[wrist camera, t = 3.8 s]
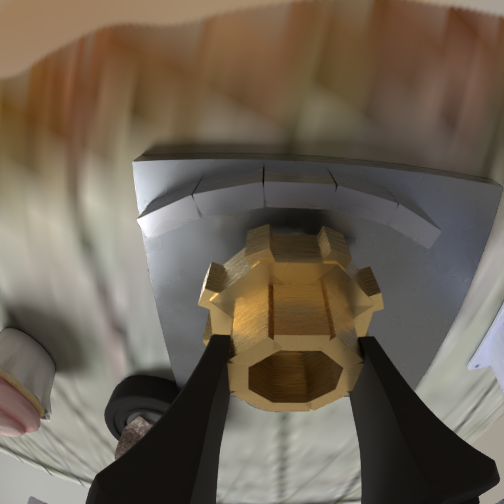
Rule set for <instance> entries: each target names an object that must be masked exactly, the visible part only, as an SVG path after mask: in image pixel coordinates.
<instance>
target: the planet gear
mask: <svg viewBox="0 0 504 504" xmlns="http://www.w3.org/2000/svg"><path fill="white" fill-rule="evenodd" d="M352 260H353V259H352V257H351V254H350V251H349V249H348V246H347V244H346V241H345V239H344V236H343V234H341V233H339V232H336V231H334V230H332V229H330V228H327V227H325V226H323V227H322V229H321V230H320V232H319V234H318V235H299V234H274V233H273V231H272V229H271V226H270V224H267V225H264V226H261V227H258V228H255V229H252V230H249V231H247V239H246V247H244V248H243V249H242V250H241V251H240V252H238V253H237V254H236V255H235V256H233V257H232V258H231V259H230V260H229V261H227V262H226V263H225V264H224V265H220V264H217V263H215V262H211V264H210V267H209V269H208V271H207V274H206V276H205V279H204V283H203V287H202V291H201V294H200V298H199V302H198V305H199V306H202V307H205V308H207V309H210V313H208V317H207V322H206V327H205V332H204V337H203V342H204V344H205V345H206V347H207V344H208V342H209V340H210V337H211V336H212V335H213V334H221V335H231V340H230V348H229V356H228V362H227V366H228V379H229V391H231V394H233V395H235V396H237V397H239V398H240V399H242V400H244V401H246V402H248V403H250V404H252V405H254V406H255V407H257V408H259V409H261V410H265V409H267V411H281V412H295V411H310V408H311V409H312V410H316V409H318V408H320V407H322V406H325V405H327V404H329V403H331V402H333V401H335V400H338V399H340V398H342V397H344V396H346V395H348V394H350V393H349V391H352V390H353V388H354V386H355V384H356V381H357V379H358V377H359V374H360V372H361V369H362V367H363V365H364V363H363V361H364V360H363V356H362V352H361V348H360V344H359V340H358V337H364V336H369V333H368V330H367V329H368V326H369V323H370V320H371V317H372V314H373V312H375V311H379V310H382V309H384V305H383V299H382V293H381V290H380V288H379V286H378V283H377V281H376V279H375V276H374V274H373V272H372V269H371V267H370V266H369V267H365V268H362V269H358V268H357V267H356V265H355V264H354V263H353V262H352Z"/></svg>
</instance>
